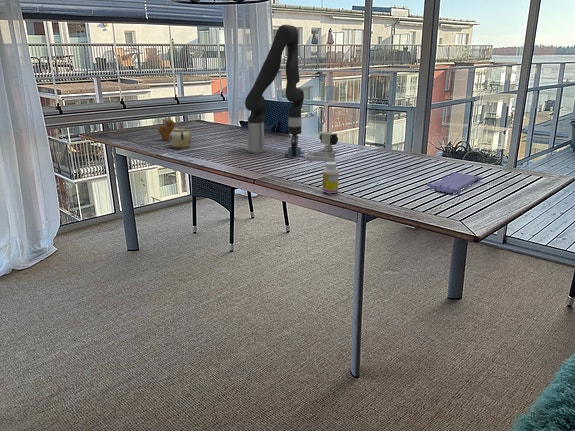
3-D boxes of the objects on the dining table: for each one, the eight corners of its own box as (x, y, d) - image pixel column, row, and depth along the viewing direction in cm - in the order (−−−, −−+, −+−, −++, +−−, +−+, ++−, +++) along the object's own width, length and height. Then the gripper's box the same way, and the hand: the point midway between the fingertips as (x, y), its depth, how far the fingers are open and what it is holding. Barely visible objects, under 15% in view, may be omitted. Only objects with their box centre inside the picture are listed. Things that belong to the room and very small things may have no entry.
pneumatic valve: (332, 153, 273) (332, 133, 269) (319, 150, 282) (319, 130, 278) (339, 152, 276) (339, 132, 272) (326, 149, 285) (326, 129, 281)
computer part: (423, 190, 203) (457, 197, 194) (424, 181, 202) (458, 187, 193) (451, 177, 225) (482, 182, 215) (452, 168, 223) (483, 173, 214)
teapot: (164, 147, 291) (161, 125, 286) (182, 143, 300) (180, 123, 295) (181, 151, 277) (179, 129, 273) (200, 148, 286) (198, 126, 281)
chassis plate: (305, 160, 256) (305, 156, 255) (307, 154, 270) (307, 151, 269) (334, 161, 254) (334, 157, 253) (335, 155, 268) (335, 152, 267)
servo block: (284, 156, 265) (284, 148, 263) (285, 155, 269) (285, 146, 267) (303, 157, 263) (303, 148, 262) (304, 155, 268) (304, 147, 266)
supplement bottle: (321, 190, 202) (322, 161, 197) (336, 190, 202) (337, 161, 198) (323, 194, 195) (324, 164, 191) (339, 194, 196) (340, 164, 192)
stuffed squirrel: (182, 139, 315) (181, 119, 311) (167, 142, 304) (165, 122, 299) (171, 137, 320) (170, 118, 316) (156, 141, 309) (154, 121, 304)
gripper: (289, 123, 267) (289, 152, 273) (286, 127, 254) (286, 157, 260) (302, 123, 266) (302, 152, 272) (300, 127, 253) (299, 158, 259)
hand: (294, 155), depth 266 cm, fingers closed on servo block, 4 cm apart
